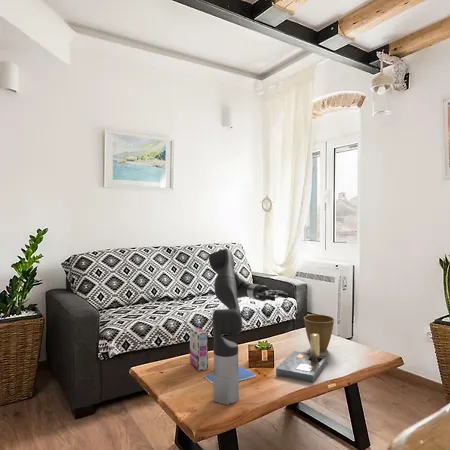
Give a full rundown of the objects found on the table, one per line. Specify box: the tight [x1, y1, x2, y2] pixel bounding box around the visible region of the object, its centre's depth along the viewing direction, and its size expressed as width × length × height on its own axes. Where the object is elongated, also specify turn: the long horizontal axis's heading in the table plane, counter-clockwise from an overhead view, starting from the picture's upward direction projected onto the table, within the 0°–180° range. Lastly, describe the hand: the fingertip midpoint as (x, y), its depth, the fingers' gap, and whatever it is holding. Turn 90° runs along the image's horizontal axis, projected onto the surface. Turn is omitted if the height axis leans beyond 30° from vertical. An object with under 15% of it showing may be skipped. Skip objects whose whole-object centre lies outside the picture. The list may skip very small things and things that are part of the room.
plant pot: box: [303, 313, 335, 353], centre depth 194 cm, size 15×15×16 cm
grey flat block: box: [275, 350, 328, 384], centre depth 169 cm, size 24×16×3 cm, turn 152°
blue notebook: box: [203, 365, 257, 384], centre depth 162 cm, size 19×13×1 cm, turn 122°
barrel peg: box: [309, 334, 321, 362], centre depth 173 cm, size 4×4×14 cm
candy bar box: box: [189, 326, 209, 371], centre depth 174 cm, size 11×5×16 cm, turn 25°
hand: (281, 297), depth 178 cm, fingers open, 8 cm apart
